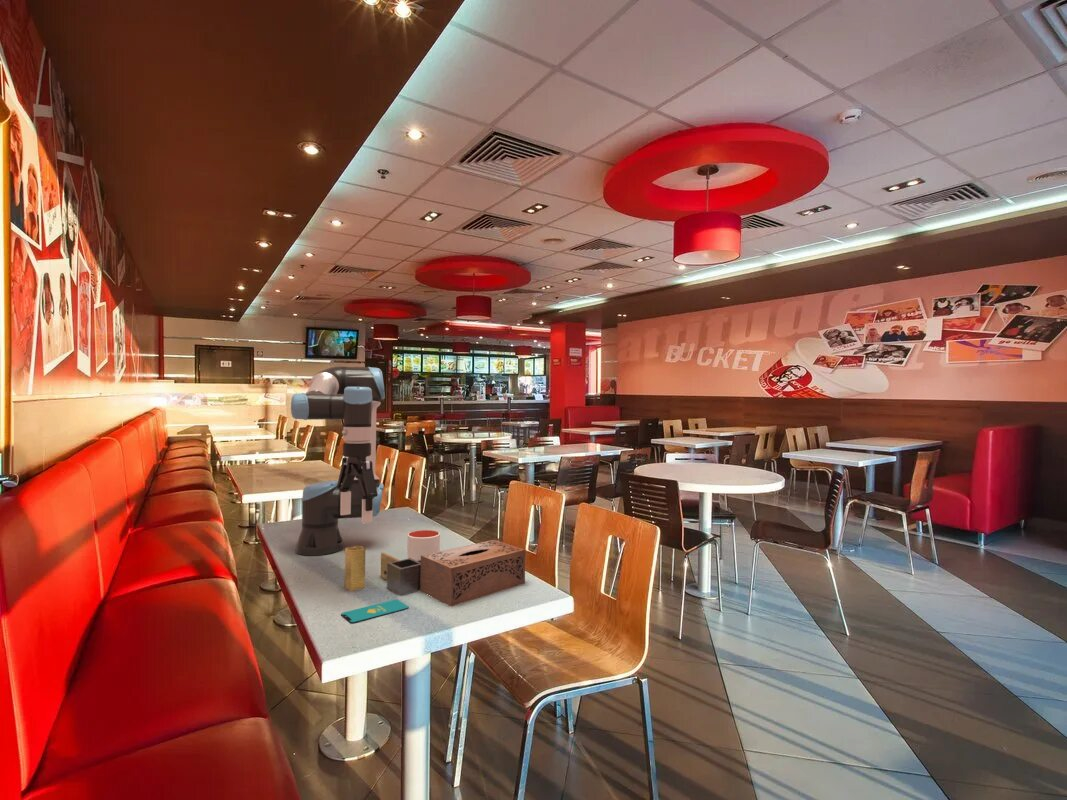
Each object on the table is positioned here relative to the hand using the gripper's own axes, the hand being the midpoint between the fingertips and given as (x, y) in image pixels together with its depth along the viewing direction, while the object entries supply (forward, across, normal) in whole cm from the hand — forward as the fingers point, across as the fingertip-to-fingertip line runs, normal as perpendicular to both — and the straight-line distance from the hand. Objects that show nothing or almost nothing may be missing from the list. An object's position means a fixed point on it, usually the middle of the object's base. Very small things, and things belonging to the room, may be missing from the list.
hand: (355, 518), depth 147 cm
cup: (+19, -5, +25) cm, 32 cm away
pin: (+19, 0, 0) cm, 19 cm away
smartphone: (+20, +19, -3) cm, 28 cm away
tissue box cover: (+20, +21, +25) cm, 38 cm away
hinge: (+19, +5, +15) cm, 25 cm away
